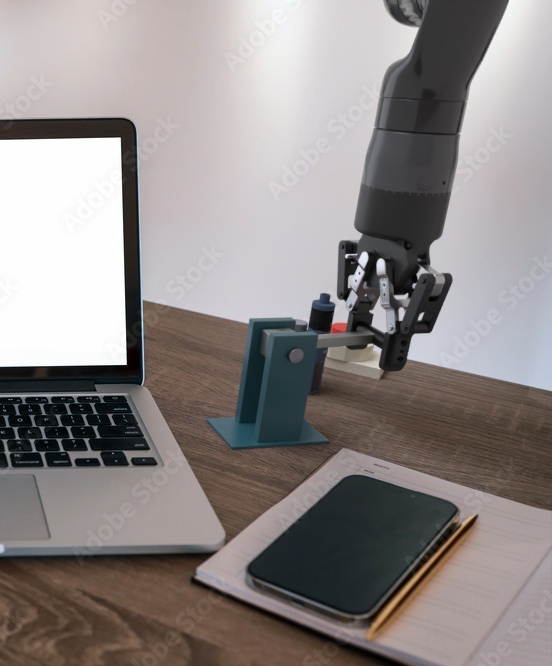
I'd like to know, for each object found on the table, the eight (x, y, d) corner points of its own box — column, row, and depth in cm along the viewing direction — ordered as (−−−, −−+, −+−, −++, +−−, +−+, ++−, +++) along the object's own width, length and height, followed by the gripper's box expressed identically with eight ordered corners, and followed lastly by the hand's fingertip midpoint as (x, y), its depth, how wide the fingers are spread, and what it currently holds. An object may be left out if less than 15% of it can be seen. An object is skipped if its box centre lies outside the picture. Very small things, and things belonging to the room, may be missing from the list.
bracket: (295, 423, 79) (314, 314, 75) (327, 451, 74) (349, 335, 70) (204, 429, 77) (219, 317, 73) (230, 458, 72) (248, 339, 68)
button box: (387, 370, 95) (393, 340, 94) (377, 387, 90) (383, 355, 88) (305, 351, 100) (310, 322, 98) (291, 366, 95) (296, 335, 93)
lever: (365, 338, 77) (368, 316, 76) (396, 357, 72) (400, 333, 72) (253, 348, 75) (255, 324, 74) (278, 367, 70) (281, 343, 69)
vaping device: (310, 404, 84) (329, 299, 80) (269, 388, 88) (286, 286, 84) (323, 399, 86) (342, 295, 82) (283, 383, 89) (299, 283, 85)
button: (363, 340, 94) (366, 326, 93) (356, 348, 91) (359, 334, 91) (333, 333, 96) (335, 320, 95) (325, 341, 93) (328, 327, 92)
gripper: (501, 197, 63) (456, 386, 69) (393, 170, 77) (362, 332, 82) (422, 197, 62) (383, 391, 68) (325, 170, 75) (299, 334, 81)
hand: (372, 357), depth 75 cm, fingers closed on lever, 5 cm apart
